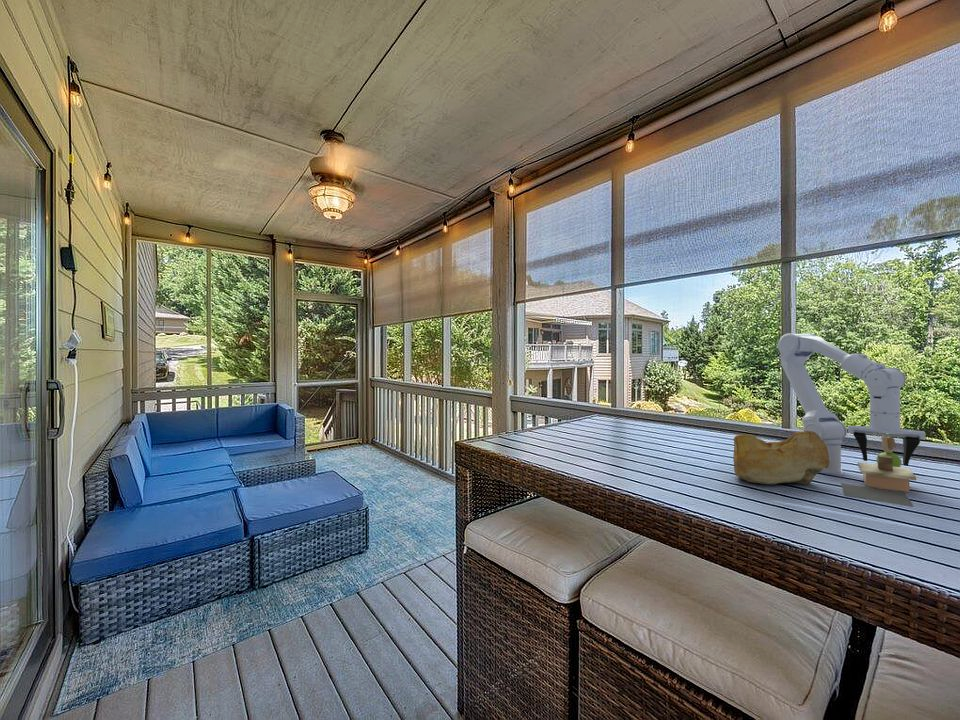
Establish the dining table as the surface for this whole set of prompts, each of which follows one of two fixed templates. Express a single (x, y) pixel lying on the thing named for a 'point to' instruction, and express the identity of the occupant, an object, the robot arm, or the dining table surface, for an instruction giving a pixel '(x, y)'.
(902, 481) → the tan square open box
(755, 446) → the rough brown rock
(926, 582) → the dining table surface
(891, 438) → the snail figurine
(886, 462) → the lid
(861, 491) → the mat
